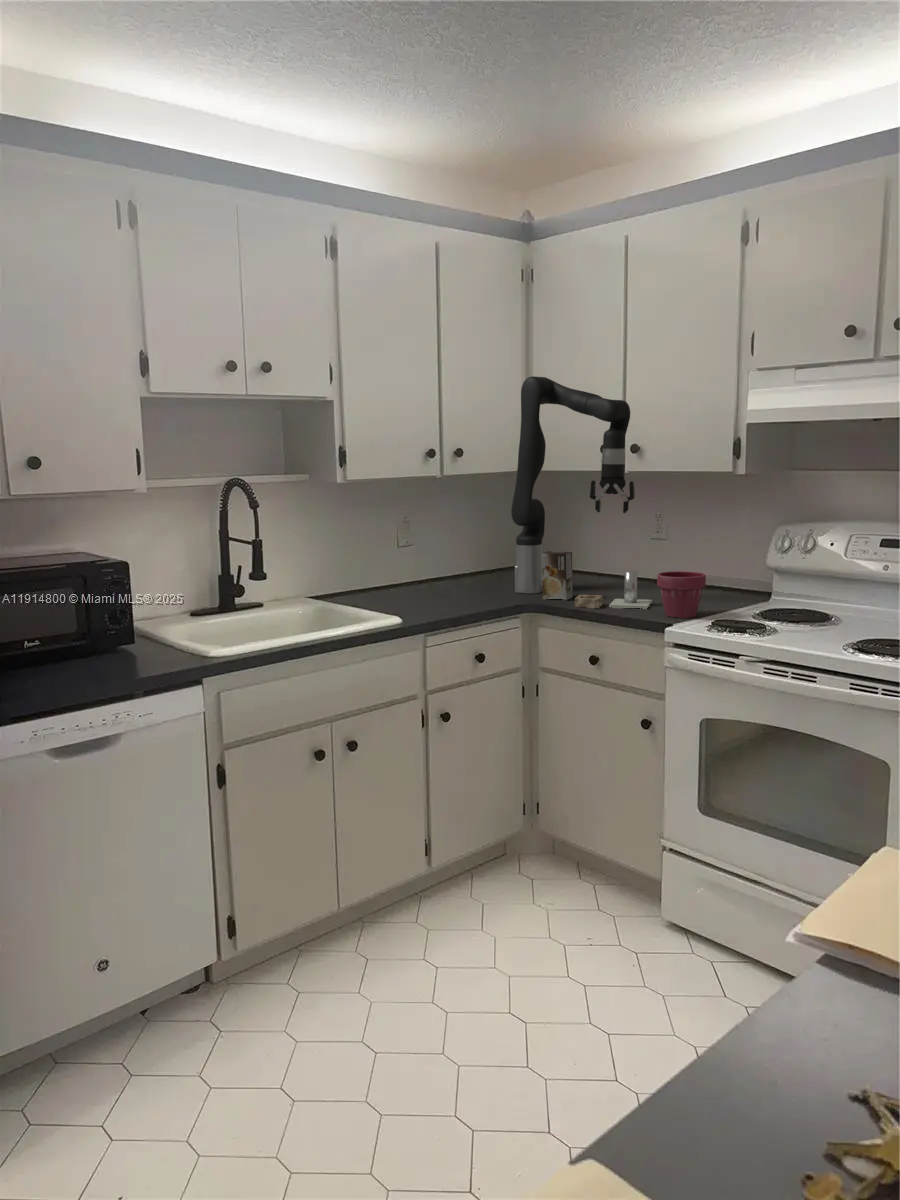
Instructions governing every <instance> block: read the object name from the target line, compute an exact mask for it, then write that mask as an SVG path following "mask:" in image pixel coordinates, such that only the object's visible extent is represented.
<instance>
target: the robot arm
mask: <svg viewBox="0 0 900 1200" xmlns="http://www.w3.org/2000/svg"><path fill="white" fill-rule="evenodd" d="M541 405H559V406H563V407H566V408H568V409H569V410H572V411H573V412H576V413H579V414H582V415H586V416H591V417H593V418H596V419H598V420H601V421H603V422H608V423H610V424H609V428H608V430H605V431H604V432H603V438H602V439H603V440H602V442H603V443H602V452H601V459H600V460H601V461H600V463H601V471H600V472H601V474H600V475H601V476H600V480H596V479H594V480H591V482H590V489H589V490H590V491H589V498H590V499H591V500H594V501H595V508H594V509H595V511H596V512H597V513H600V512H601V506H602V501H601V499H602V497H603V496H604V495H605V494H607V495H611V494H612V495H618V494H619V496H620V497H621V498H622V500H623V502H622V503H623V505H622V506H623V507H622V508H623V509H622V513H623V514H626V513H627V512H628V511H629V505H630V504H629V502H630V501H633V500H634V499H636V497H635V481H634V480H631V481H626V480H625V479H626V478H625V474H626V472H625V471H626V449H625V448H626V434H627V432H628V427H629V424H630V420H631V408H630V405H629V403H628V402H627V401H626V400H622V399H609V398H604V397H602V396H600V395H598V394H595V393H591V392H588V391H583V390H580V389H573V388H571V387H568V386H565V385H562V384H560V383H559V382H557V381H554V380H553V379H550V378H548V377H545V376H533V375H532V376H529V377H527V378H525V380H524V381H523V383H522V385H521V391H520V409H521V410H520V411H521V412H520V413H521V415H520V418H521V420H520V432H519V435H520V436H519V444H518V454H517V457H518V458H517V470H516V478H515V481H516V482H515V487H514V492H513V498H512V504H511V509H510V510H511V511H510V513H511V518H512V519H511V520H512V521H513V523H514V524H515V525H517V526H519V527H522V529H521V530H522V531H521V532H520V533H519V534H518V535H517V536H516V539H515V549H516V550H515V552H516V553H515V556H516V557H515V558H516V560H515V563H516V565H514V592H515V593H518V594H541V593H543V584H542V553H543V538H544V536H545V524H546V523H545V522H546V521H545V520H546V517H545V516H546V515H545V514H546V511H545V507H544V504H543V503H542V502H541V500H540V499H537V498H533V492H534V486H535V484H536V482H537V479H538V477H539V475H540V474H541V471H542V469H543V467H544V464H545V460H546V459H545V457H546V447H547V446H546V438H545V435H544V433H543V430H542V426H541V421H540V410H541ZM598 486H600V488H601V490H600V491H599V492H598V494H597V495H596V488H597V487H598ZM625 486H626V487H627V488H628V489H629V496H628V495H627V494H626V493H627V492H625V491H624V487H625Z"/></svg>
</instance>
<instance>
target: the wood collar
mask: <svg viewBox="0 0 900 1200" xmlns="http://www.w3.org/2000/svg"><path fill="white" fill-rule="evenodd" d="M602 605H603V595H601V594H600V595H596V594H595V595H594V594H578V596H576V597H575V598H574V608H575V607H586V608H585V609H594V608H598V609H600V608H601V607H602Z"/></svg>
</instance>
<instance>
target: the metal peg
mask: <svg viewBox="0 0 900 1200" xmlns="http://www.w3.org/2000/svg"><path fill="white" fill-rule="evenodd" d="M623 586H624V591H623V592H624V594H623V596H624V597H623V599H624V603H637V599H638V571H636V570H625V571H624V585H623Z"/></svg>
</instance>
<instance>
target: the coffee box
mask: <svg viewBox="0 0 900 1200" xmlns="http://www.w3.org/2000/svg"><path fill="white" fill-rule="evenodd" d="M573 594H574V593H573V551H560V550H559V551H555V550H553V551H551V550H547V551H544V552H542V600H546V599H563V600H562V601H566V600H567V599H569V600H571V599H573V598H574V596H573ZM572 597H573V598H572ZM570 598H571V599H570ZM564 599H565V600H564ZM567 601H568V600H567Z"/></svg>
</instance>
